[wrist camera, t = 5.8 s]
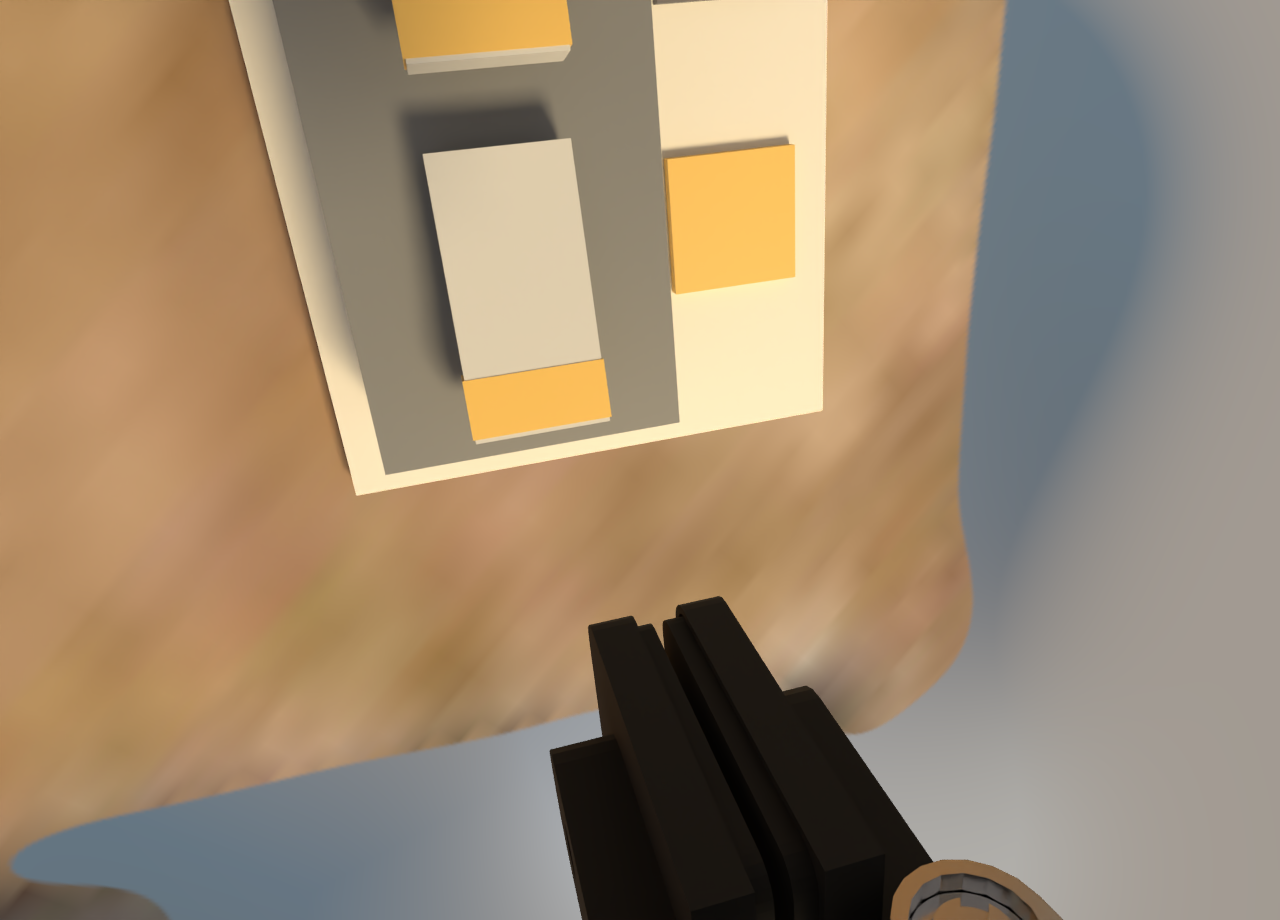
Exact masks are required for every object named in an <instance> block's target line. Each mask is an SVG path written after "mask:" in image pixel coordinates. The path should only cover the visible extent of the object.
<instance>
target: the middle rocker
mask: <svg viewBox="0 0 1280 920" xmlns="http://www.w3.org/2000/svg"><path fill="white" fill-rule="evenodd" d="M392 5H393V10H394V15H395V21H396V26H397V32H398V37H399V42H400V48H401V53H402V59H403V64H404V69H405V70H407V72H408V75H413V74H424V73H435V72H447V71H458V70H469V69H480V68H491V67H502V66H514V65H525V64H536V63H547V62H558V61H564V59H565V58H566V56H567V55H568V53H569V52H570V50H571V49H570V47H571V46H572V36H571V29H570V22H569V14H568V7H567V0H392Z"/></svg>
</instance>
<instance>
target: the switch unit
mask: <svg viewBox="0 0 1280 920" xmlns="http://www.w3.org/2000/svg"><path fill="white" fill-rule="evenodd" d="M229 3H230V7H231V11H232V15H233V19H234V23H235V27H236V31H237V34H238V38H239V42H240V46H241V50H242V54H243V58H244V62H245V65H246V69H247V73H248V77H249V81H250V85H251V89H252V93H253V96H254V100H255V104H256V108H257V112H258V116H259V120H260V124H261V127H262V131H263V135H264V139H265V143H266V147H267V151H268V155H269V158H270V162H271V166H272V170H273V174H274V178H275V182H276V186H277V189H278V193H279V197H280V201H281V205H282V209H283V213H284V217H285V220H286V224H287V228H288V232H289V236H290V240H291V244H292V248H293V251H294V255H295V259H296V263H297V267H298V271H299V275H300V279H301V282H302V286H303V290H304V294H305V298H306V302H307V306H308V310H309V313H310V317H311V321H312V325H313V329H314V333H315V337H316V341H317V344H318V348H319V352H320V356H321V360H322V364H323V368H324V372H325V375H326V379H327V383H328V387H329V391H330V395H331V399H332V403H333V406H334V410H335V414H336V418H337V422H338V426H339V430H340V434H341V437H342V441H343V445H344V449H345V453H346V457H347V461H348V465H349V468H350V472H351V476H352V480H353V484H354V488H355V492H356V496H357V495H363V494H368V493H374V492H379V491H385V490H390V489H396V488H401V487H407V486H412V485H417V484H423V483H428V482H434V481H439V480H445V479H450V478H456V477H461V476H467V475H472V474H478V473H483V472H489V471H494V470H500V469H505V468H511V467H516V466H522V465H527V464H533V463H538V462H543V461H549V460H554V459H560V458H565V457H571V456H576V455H582V454H587V453H593V452H598V451H604V450H609V449H615V448H620V447H626V446H631V445H637V444H642V443H648V442H653V441H659V440H664V439H669V438H675V437H680V436H686V435H691V434H697V433H702V432H708V431H713V430H719V429H724V428H730V427H735V426H741V425H746V424H752V423H757V422H763V421H768V420H774V419H779V418H784V417H790V416H795V415H801V414H806V413H812V412H817V411H823V332H824V247H825V163H826V78H827V0H567V7H568V14H569V22H570V29H571V36H572V46H571V47H570V49H571V50H570V52H569V53H568V55H567V56H566V58H565V59H564V61H558V62H547V63H536V64H525V65H514V66H502V67H491V68H480V69H469V70H458V71H447V72H435V73H424V74H413V75H408V72H407V70H405V69H404V64H403V59H402V53H401V48H400V42H399V37H398V32H397V26H396V21H395V15H394V10H393V5H392V0H229ZM566 138H571V143H572V150H573V157H574V164H575V172H576V179H577V186H578V193H579V200H580V208H581V215H582V222H583V229H584V237H585V244H586V251H587V258H588V265H589V273H590V280H591V287H592V294H593V301H594V309H595V316H596V323H597V330H598V337H599V345H600V352H601V357H602V358H603V359H604V364H605V372H606V379H607V386H608V393H609V401H610V408H611V415H612V417H610V421H607V422H601V423H595V424H590V425H584V426H578V427H573V428H567V429H561V430H556V431H550V432H544V433H538V434H533V435H527V436H521V437H516V438H510V439H504V440H499V441H493V442H487V443H482V444H476V442H475V441H473V437H472V432H471V427H470V422H469V416H468V411H467V405H466V400H465V395H464V389H463V384H462V378H461V375H463V372H462V367H461V361H460V356H459V350H458V345H457V340H456V334H455V329H454V323H453V318H452V313H451V307H450V302H449V296H448V291H447V285H446V280H445V275H444V269H443V264H442V258H441V253H440V248H439V242H438V237H437V231H436V226H435V220H434V215H433V210H432V204H431V199H430V193H429V188H428V183H427V177H426V172H425V166H424V161H423V154H427V153H437V152H446V151H455V150H464V149H474V148H483V147H492V146H502V145H511V144H520V143H529V142H539V141H548V140H557V139H566Z"/></svg>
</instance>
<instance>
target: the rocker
mask: <svg viewBox="0 0 1280 920" xmlns="http://www.w3.org/2000/svg"><path fill="white" fill-rule="evenodd" d="M423 161H424V166H425V172H426V177H427V183H428V188H429V193H430V199H431V204H432V210H433V215H434V220H435V226H436V231H437V237H438V242H439V248H440V253H441V258H442V264H443V269H444V275H445V280H446V285H447V291H448V296H449V302H450V307H451V313H452V318H453V323H454V329H455V334H456V340H457V345H458V350H459V356H460V361H461V367H462V372H463V375H461V378H462V384H463V389H464V395H465V400H466V405H467V411H468V416H469V422H470V427H471V432H472V437H473V441H475V442H476V444H482V443H487V442H493V441H499V440H504V439H510V438H516V437H521V436H527V435H533V434H538V433H544V432H550V431H556V430H561V429H567V428H573V427H578V426H584V425H590V424H595V423H601V422H607V421H610V417H612V415H611V408H610V401H609V393H608V386H607V379H606V372H605V364H604V359H603V358H602V357H601V352H600V345H599V337H598V330H597V323H596V316H595V309H594V301H593V294H592V287H591V280H590V273H589V265H588V258H587V251H586V244H585V237H584V229H583V222H582V215H581V208H580V200H579V193H578V186H577V179H576V172H575V164H574V157H573V150H572V143H571V138H566V139H557V140H548V141H539V142H529V143H520V144H511V145H502V146H492V147H483V148H474V149H464V150H455V151H446V152H437V153H427V154H423Z"/></svg>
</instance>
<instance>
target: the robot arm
mask: <svg viewBox="0 0 1280 920" xmlns="http://www.w3.org/2000/svg"><path fill="white" fill-rule="evenodd" d="M588 633H589V641H590V649H591V656H592V664H593V671H594V678H595V686H596V693H597V700H598V708H599V715H600V722H601V730H602V737H599V738H595V739H591V740H588V741H583V742H580V743H575V744H571V745H568V746H564V747H559V748H556V749H551V750H550V756H551V763H552V769H553V774H554V781H555V786H556V792H557V797H558V803H559V809H560V814H561V820H562V825H563V829H564V835H565V840H566V845H567V850H568V855H569V860H570V865H571V870H572V874H573V879H574V883H575V888H576V893H577V897H578V902H579V907H580V912H581V916H582V920H1063V919H1062V918H1061V917H1060V916H1059V915H1058V914H1057V913H1056V912H1055V911H1054V910H1053V909H1052V908H1051V907H1050V906H1049V905H1048V904H1047V903H1046V902H1045V901H1044V900H1043V899H1042V898H1041V897H1040V896H1039V895H1038V894H1036V893H1035V892H1034V891H1033V890H1031V889H1030V888H1029V887H1028V886H1026V885H1025V884H1024V883H1023V882H1021V881H1020V880H1019V879H1017V878H1015V877H1014V876H1012V875H1010V874H1008V873H1005V872H1003V871H1002V870H999V869H997V868H995V867H993V866H990V865H986V864H982V863H978V862H974V861H970V860H940V861H936V862H933V861H932V859H931V858H930V857H929V855H928V854H927V852H926V851H925V849H924V848H923V846H922V845H921V844H920V842H919V841H918V839H917V838H916V837H915V835H914V833H913V832H912V831H911V829H910V828H909V826H908V825H907V823H906V822H905V820H904V819H903V817H902V816H901V815H900V813H899V812H898V810H897V809H896V807H895V806H894V805H893V803H892V802H891V800H890V799H889V797H888V796H887V794H886V793H885V791H884V790H883V789H882V787H881V786H880V784H879V783H878V781H877V780H876V778H875V777H874V775H873V774H872V773H871V771H870V770H869V768H868V767H867V765H866V764H865V762H864V761H863V760H862V758H861V757H860V755H859V754H858V752H857V751H856V749H855V748H854V747H853V745H852V744H851V742H850V741H849V739H848V738H847V736H846V735H845V734H844V732H843V731H842V729H841V728H840V726H839V725H838V723H837V722H836V720H835V719H834V718H833V716H832V715H831V713H830V712H829V710H828V709H827V707H826V706H825V705H824V703H823V702H822V700H821V699H820V697H819V696H818V695H817V694H816V693H815V692H814V690H813V689H811V688H809V687H808V686H803V687H799V688H795V689H791V690H787V691H783V692H782V690H781V688H780V687H779V685H778V684H777V682H776V681H775V679H774V677H773V676H772V674H771V673H770V671H769V670H768V668H767V666H766V665H765V663H764V662H763V660H762V659H761V657H760V655H759V654H758V652H757V651H756V649H755V648H754V646H753V644H752V643H751V641H750V640H749V638H748V636H747V635H746V633H745V632H744V630H743V629H742V627H741V625H740V624H739V622H738V621H737V619H736V618H735V616H734V614H733V613H732V611H731V610H730V608H729V607H728V605H727V603H726V602H725V601H724V599H723V598H722V597H720V596H717V597H713V598H708V599H704V600H699V601H695V602H690V603H686V604H681V605H678V606H677V607H676V618H673V619H668V620H664V622H663V638H664V648H663V645H662V643H661V641H660V639H659V637H658V635H657V633H656V631H655V628H654V627H653V625H652V624H646V625H642V626H637V623H636V621H635V619H634V617H633V616H628V617H623V618H619V619H614V620H610V621H605V622H601V623H596V624H592V625H589V627H588ZM664 649H665V650H664Z"/></svg>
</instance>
